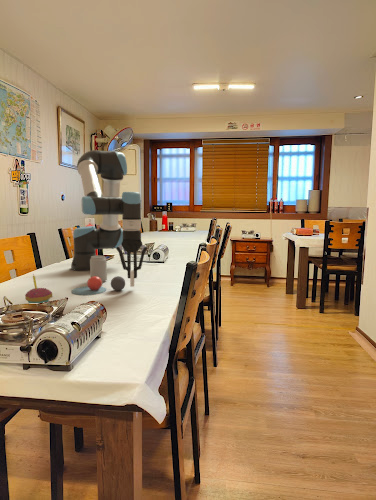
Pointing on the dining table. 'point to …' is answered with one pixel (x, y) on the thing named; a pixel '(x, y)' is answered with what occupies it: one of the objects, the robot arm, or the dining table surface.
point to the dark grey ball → (118, 283)
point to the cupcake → (38, 294)
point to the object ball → (94, 283)
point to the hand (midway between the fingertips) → (132, 285)
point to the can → (98, 267)
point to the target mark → (87, 291)
